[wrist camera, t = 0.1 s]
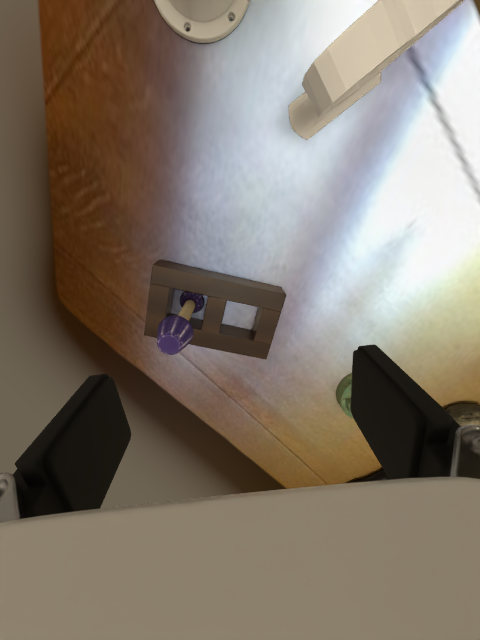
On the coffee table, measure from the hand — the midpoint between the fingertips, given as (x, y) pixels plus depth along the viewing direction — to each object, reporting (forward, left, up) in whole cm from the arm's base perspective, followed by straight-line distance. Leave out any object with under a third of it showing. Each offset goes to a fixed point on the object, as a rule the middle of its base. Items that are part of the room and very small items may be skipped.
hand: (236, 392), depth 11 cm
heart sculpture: (-7, +25, -37) cm, 45 cm away
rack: (+5, -8, -37) cm, 39 cm away
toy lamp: (+1, -11, -38) cm, 39 cm away
